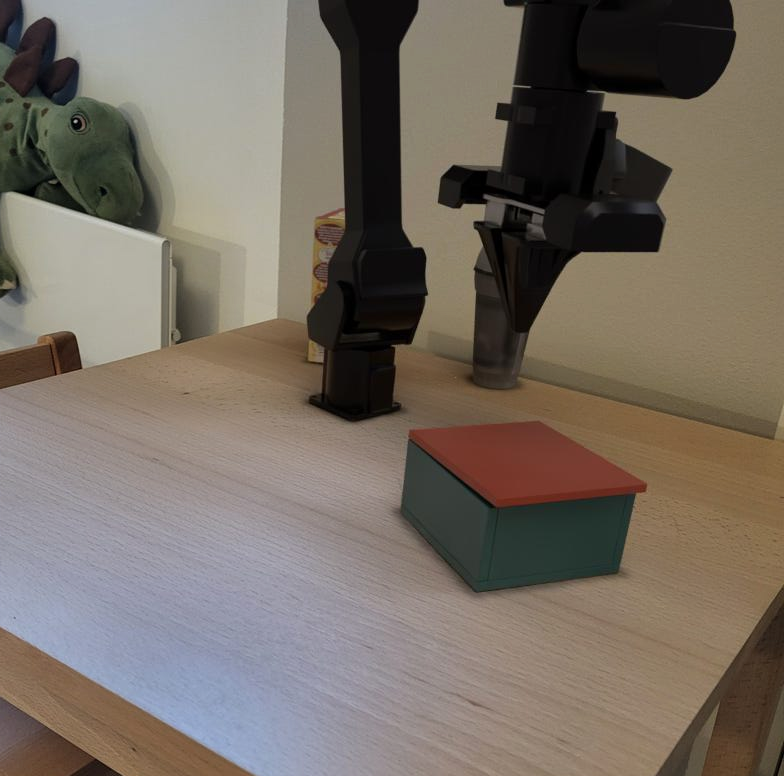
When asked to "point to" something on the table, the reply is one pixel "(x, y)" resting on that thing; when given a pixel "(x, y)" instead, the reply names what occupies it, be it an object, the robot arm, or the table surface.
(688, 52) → the robot arm
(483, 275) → the beverage cup
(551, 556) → the teal open box
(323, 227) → the candy box
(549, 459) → the lid
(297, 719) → the table surface
